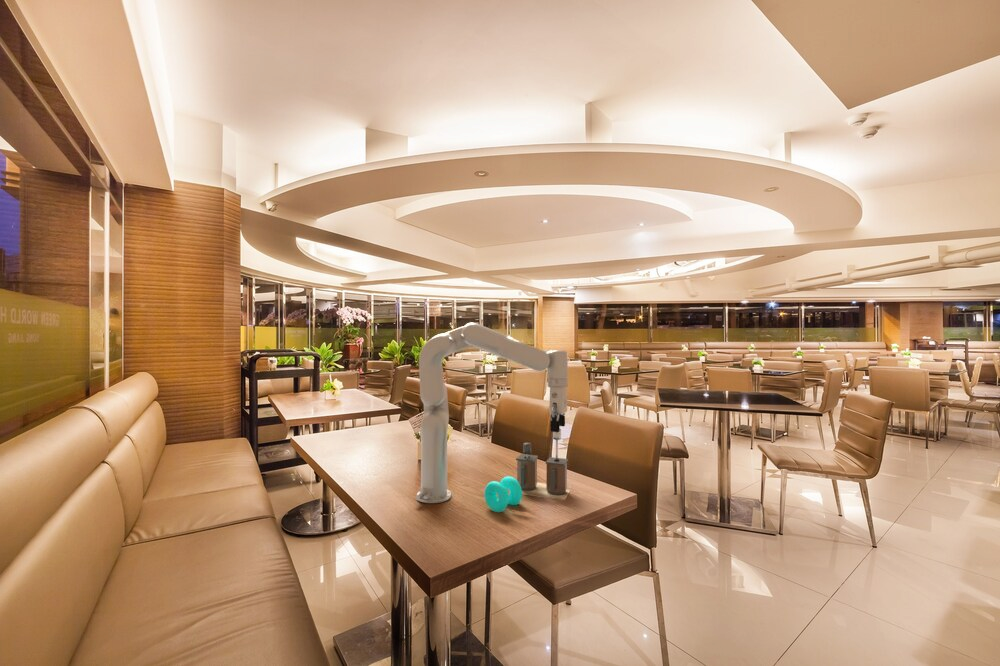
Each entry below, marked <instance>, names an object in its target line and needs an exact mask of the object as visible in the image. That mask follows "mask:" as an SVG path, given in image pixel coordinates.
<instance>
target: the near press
mask: <svg viewBox="0 0 1000 666" xmlns="http://www.w3.org/2000/svg"><path fill="white" fill-rule="evenodd" d="M545 464H546V489H547V492H548V493H549V494H552V495H563V494H565V493H566V489H567V486H568V485H567V483H568V482H567V481H568V480H567V478H568V477H567V475H568V474H567V473H568V469H567V467H568V465H567V464H568V458H561V457H558V462H556V457H554V456H550V457H548V459H547V460H546V461H545Z"/></svg>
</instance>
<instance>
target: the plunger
mask: <svg viewBox="0 0 1000 666" xmlns="http://www.w3.org/2000/svg"><path fill="white" fill-rule="evenodd" d="M561 439H562V429H561V428H560V431H559V432H552V440H554V441H555V458H556V462H558V458H559V441H560V440H561Z"/></svg>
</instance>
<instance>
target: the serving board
mask: <svg viewBox="0 0 1000 666" xmlns="http://www.w3.org/2000/svg"><path fill="white" fill-rule="evenodd" d="M546 483H547V482H546ZM546 483H545V482H538V481H537V485H536V489H535V490H532V491H523V490H522V495H523V496H524V495H525V496H532V497H539V498H545V499H553V500H559V501H566V499H567V497H568V495H569V494H570V491H571V489H572V486H568V485H567V489H566V493H565V494H563V495H552V494H549V493H548V492H547V489H546Z"/></svg>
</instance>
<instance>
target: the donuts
mask: <svg viewBox="0 0 1000 666" xmlns="http://www.w3.org/2000/svg"><path fill="white" fill-rule="evenodd" d="M522 499H523V494H522V489H521V486H520V484H519V482H518V481H517V478H515V477H513V476H504V477H503V478H501V480H500V482H499V481H494V480H493V481H490V482H488V483H487V485H486V486H485V488H484V500H485V502H486V505H487V507H488V508H489V509H490V510H491V511H493V512H495V513H501V512H504V510H506V509H507V506H508V505H512V506H517V505H518V504H520V503H521V501H522Z"/></svg>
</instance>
